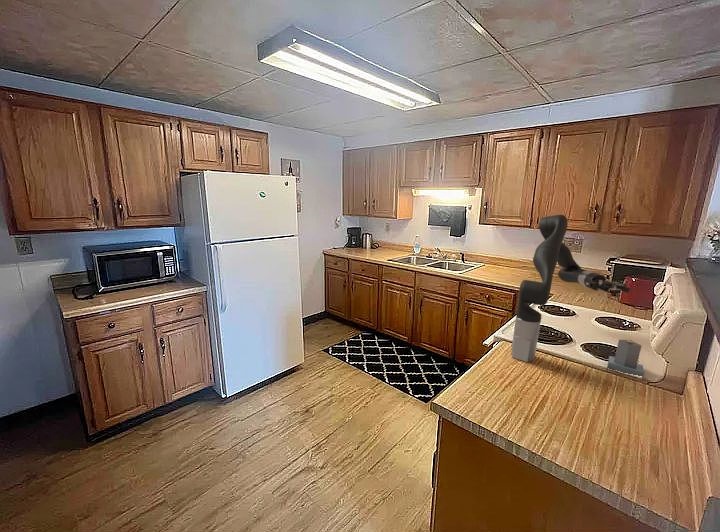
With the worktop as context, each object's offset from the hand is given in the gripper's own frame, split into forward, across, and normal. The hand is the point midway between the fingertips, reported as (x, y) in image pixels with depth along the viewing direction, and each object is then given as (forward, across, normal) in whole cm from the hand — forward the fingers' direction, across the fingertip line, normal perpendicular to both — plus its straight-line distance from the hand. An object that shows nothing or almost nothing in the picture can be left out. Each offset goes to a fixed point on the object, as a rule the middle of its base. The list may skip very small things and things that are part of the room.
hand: (618, 290), depth 136 cm
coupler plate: (+11, 0, +30) cm, 32 cm away
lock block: (+11, 0, +28) cm, 31 cm away
